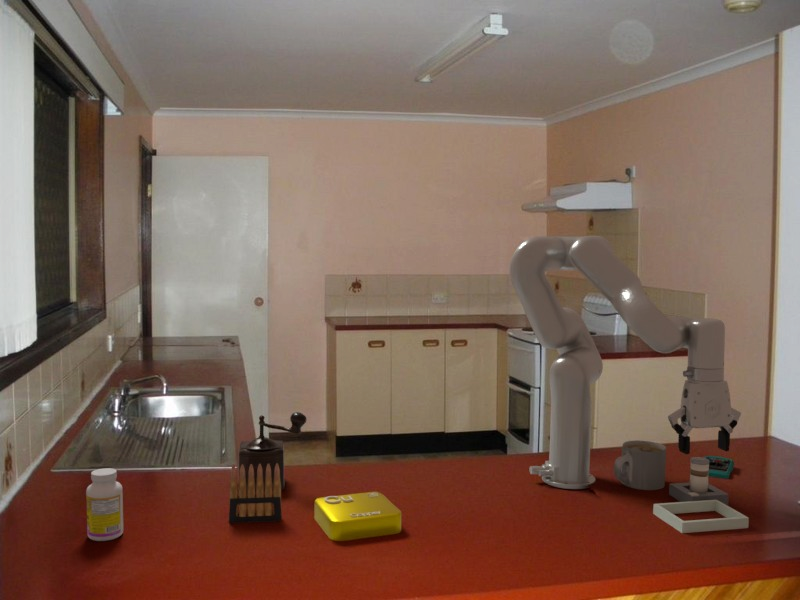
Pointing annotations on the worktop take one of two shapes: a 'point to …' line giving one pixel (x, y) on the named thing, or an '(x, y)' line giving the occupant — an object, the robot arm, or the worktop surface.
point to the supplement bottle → (104, 506)
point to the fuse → (699, 475)
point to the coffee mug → (641, 465)
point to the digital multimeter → (720, 466)
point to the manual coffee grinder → (267, 449)
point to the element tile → (357, 516)
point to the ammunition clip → (255, 496)
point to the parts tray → (730, 522)
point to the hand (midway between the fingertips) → (704, 451)
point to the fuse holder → (685, 495)
